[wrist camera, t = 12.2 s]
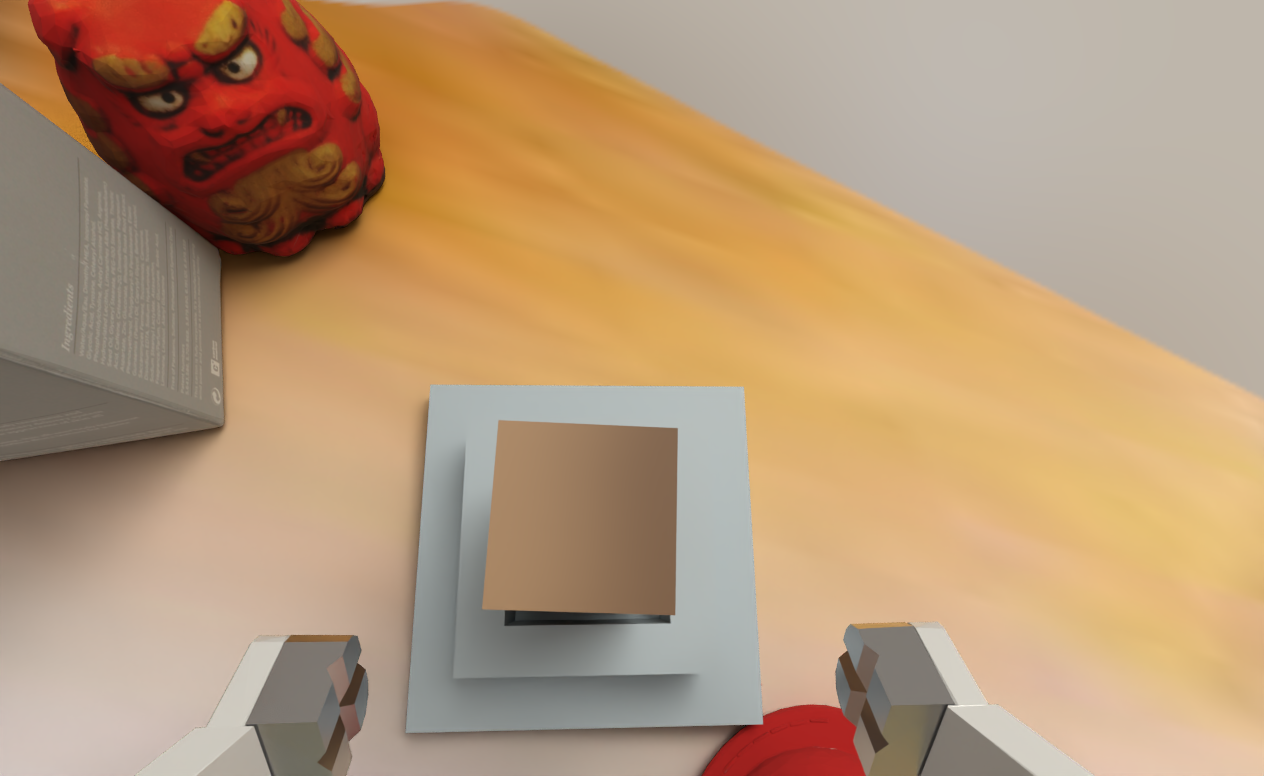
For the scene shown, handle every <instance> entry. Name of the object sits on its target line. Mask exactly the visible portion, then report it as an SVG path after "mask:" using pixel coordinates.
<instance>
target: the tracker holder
mask: <svg viewBox="0 0 1264 776" xmlns="http://www.w3.org/2000/svg"><path fill="white" fill-rule="evenodd" d="M856 728H857V727H856V726H855V725H854V724H852V723H851V722H850V721H849V720H848V719H847V718H846V717H845V716H844V715H843V712H842V709H840V708H836V707H831V706H827V705H800V706H794V707H789V708H784V709H780V710H778V711H775V712H772V713H770V714H767V715H765V716H763V724H756V725H747V726H746V727H744V728H742V729H741V730H740V731H739V732H738V733H737V734H736V735H734V736H733V737H732V738H731V739H730V740H729V741H728V742H727V743H725V744H724V745H723V747H722V748H721V749H720V750H719V752H718V753H717V754H716V755H715V757H714V758H713V759H712V760H711V762H710V763H709V764H708V766H707V767H706V769H705V771H704V773H703V774H702V776H866V775H865V772H864V769H863V767H862V764H861V761H860V759H859V756H858V753H857V750H856V748H855V745H854V742H853V739H854V735H855V732H856Z"/></svg>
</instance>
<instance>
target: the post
mask: <svg viewBox="0 0 1264 776" xmlns="http://www.w3.org/2000/svg"><path fill="white" fill-rule="evenodd" d="M677 457H678V428H664V427H642V426H619V425H597V424H574V423H552V422H530V421H507V420H498V431H497V443H496V454H495V466H494V477H493V489H492V500H491V512H490V523H489V535H488V546H487V558H486V569H485V581H484V592H483V604H482V609H486V610H518V611H551V612H583V613H616V614H648V615H675V606H676V532H677Z"/></svg>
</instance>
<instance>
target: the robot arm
mask: <svg viewBox="0 0 1264 776" xmlns="http://www.w3.org/2000/svg"><path fill="white" fill-rule="evenodd" d="M843 640H844V643H845V645H846V648H847V650H848V651H846V652H845V653H844V654H843V655H842V656H840V657H839V658H838V663H837V668H836V690H837V695H838V699H839V703H840V706H841V709H842V712H843V715H844V716H845V717H846V718H847V719H848V720H849V721H850V722H851V723H852V724H854V725H855V726H856V727H857V728H856V732H855V735H854V739H853V742H854V745H855V748H856V750H857V753H858V756H859V759H860V761H861V764H862V767H863V769H864V772H865V775H866V776H1095V775H1093V774H1092V773H1091V772H1089V771H1088V770H1086V769H1085V768H1084V767H1082V766H1081V765H1080V764H1078V763H1077V762H1076V761H1074V760H1073V759H1071V758H1070V757H1069V756H1067V755H1066V754H1065V753H1063V752H1062V751H1061V750H1059V749H1058V748H1057V747H1055V746H1054V745H1052V744H1051V743H1050V742H1048V741H1047V740H1046V739H1044V738H1043V737H1042V736H1040V735H1039V734H1037V733H1036V732H1035V731H1033V730H1032V729H1031V728H1029V727H1028V726H1027V725H1025V724H1024V723H1022V722H1021V721H1020V720H1018V719H1017V718H1016V717H1014V716H1013V715H1012V714H1010V713H1009V712H1008V711H1006V710H1005V709H1003V708H1002V707H1001V706H999V705H998V704H989V703H988V702H987V700H986V698H985V697H984V695H983V693H982V692H981V690H980V688H979V686H978V685H977V683H976V681H975V680H974V678H973V676H972V674H971V673H970V671H969V669H968V668H967V666H966V664H965V663H964V661H963V659H962V657H961V656H960V654H959V652H958V651H957V649H956V647H955V646H954V644H953V642H952V640H951V639H950V637H949V635H948V634H947V632H946V630H945V628H944V627H943V626H942V625H941V624H940V623H938V622H909V623H905V622H896V623H867V624H850V625H849V626H848V628H847V629H846V632H845V635H844V639H843ZM360 653H361V647H360V643H359V640H358V636H354V635H259V636H258V637H257V638H256V639H255V640H254V641H253V642H252V643H251V644H250V645H249V647H248V649H247V651H246V653H245V655H244V656H243V658H242V660H241V662H240V664H239V666H238V668H237V670H236V672H235V673H234V675H233V677H232V679H231V681H230V683H229V685H228V687H227V688H226V690H225V692H224V694H223V696H222V698H221V700H220V702H219V703H218V705H217V707H216V709H215V711H214V713H213V715H212V717H211V719H210V720H209V722H208V724H207V726H206V727H199V728H195V729H194V730H192V731H191V732H190V733H188V734H187V735H186V736H185V737H183V738H182V739H181V740H179V741H178V742H177V743H176V744H174V745H173V746H172V747H170V748H169V749H168V750H167V751H165V752H164V753H163V754H162V755H160V756H159V757H158V758H156V759H155V760H154V761H153V762H151V763H150V764H149V765H147V766H146V767H145V768H144V769H142V770H141V771H140V772H138V773H137V774H136V775H135V776H346V775H347V772H348V769H349V766H350V762H351V759H352V754H351V750H350V746H349V741H350V740H351V739H352V738H353V737H354V736H355V735H356V734H357V733H358V732H359V731H360V730H361V727H362V724H363V720H364V717H365V713H366V707H367V699H368V679H367V674H366V669H364V668H363V667H362V666H361V665H359V664H358V663H357V662H358V659H359V656H360Z"/></svg>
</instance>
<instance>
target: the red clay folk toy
mask: <svg viewBox="0 0 1264 776" xmlns="http://www.w3.org/2000/svg"><path fill="white" fill-rule="evenodd" d="M28 7H29V11H30V15H31V18H32V22H33V26H34V28H35V31H36V33H37V36H38V38H39V39H40V40H41V41H42V42H43V43H44V44H45V45H46V46H47V47H48V49H49V50H50V52H51V53H52V55H53V56H54V59H55V64H56V70H57V73H58V76H59V79H60V82H61V84H62V87H63V89H64V92H65V94H66V96H67V99H68V101H69V102H70V104H71V105H72V107H73V109H74V110H75V112H76V113H77V115H78V116H79V119H80V121H81V123H82V125H83V128H84V130H85V132H86V134H87V137H88V138H89V140H90V142H91V143H92V145H93V147H94V148H95V150H96V152H97V153H98V155H99V156H100V157H101V158H102V159H103V160H104V161H105V162H106V163H107V164H108V165H109V166H111V167H112V168H113V169H114V170H116V171H117V172H118V173H120V174H121V175H122V176H123V177H125V178H126V179H127V180H129V181H130V182H131V183H132V184H134V185H135V186H136V187H138V188H139V189H140V190H142V191H143V192H144V193H146V194H147V195H148V196H150V197H151V198H152V199H154V200H155V201H156V202H158V203H159V204H160V205H162V206H163V207H164V208H166V209H167V210H168V211H170V212H171V213H172V214H174V215H175V216H176V217H178V218H179V219H180V220H181V221H183V222H184V223H185V224H187V225H188V226H189V227H191V228H192V229H193V230H195V231H196V232H197V233H198V234H200V235H201V236H202V237H203V238H205V239H206V240H207V241H209V242H210V243H211V244H212V245H214V246H215V247H216V248H219V249H221V250H223V251H226V252H227V253H230V254H234V255H237V254H246V253H250V252H255V251H263V252H267V253H270V254H272V255H275V256H291V255H294V254H296V253H298V252H300V251H302V250H303V249H304V248H305V247H306V246H307V245H308V244H309V243H310V242H311V240H312V238H313V236H314V234H315V232H316V231H318V230H324V229H325V228H333V227H335V229H339V228H343V227H346V226H347V225H348V224H349V223H351V222H352V221H354V220H355V219H356V218H357V217H358V216H359V215H360V214H361V213H362V208H363V205H364V204H365V203H366V201H367V200H368V199H369V198H370V197H371V196H372V195H373V194H374V193H376V192H377V191H378V189H379V188H380V187H381V186H382V183H383V181H384V179H385V167H384V162H383V158H382V153H381V151H380V149H379V148H380V127H379V123H378V118H377V111H376V109H375V107H374V104H373V102H372V100H371V97H370V95H369V93H368V92H367V90H366V89H365V88H364V86H363V85H362V84H361V82H360V81H359V78H358V76H357V73H356V71H355V69H354V67H353V65H352V63H351V62H350V60H349V58H348V57H347V55H346V54H345V52H344V51H343V50H342V49H341V48H340V47H339V46H338V44H337V43H336V42H335V41H334V38H333V37H332V36H331V35H330V34H329V33H328V32H327V31H326V30H325V29H324V27H323V26H322V25H321V24H320V23H319V22H318V21H317V20H316V19H315V18H314V16H313V15H312V14H310V13H309V12H308V11H307V10H306V9H305V8H304V7H303V6H301V5H300V4H299V3H298V2H297V1H296V0H29V2H28Z"/></svg>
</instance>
